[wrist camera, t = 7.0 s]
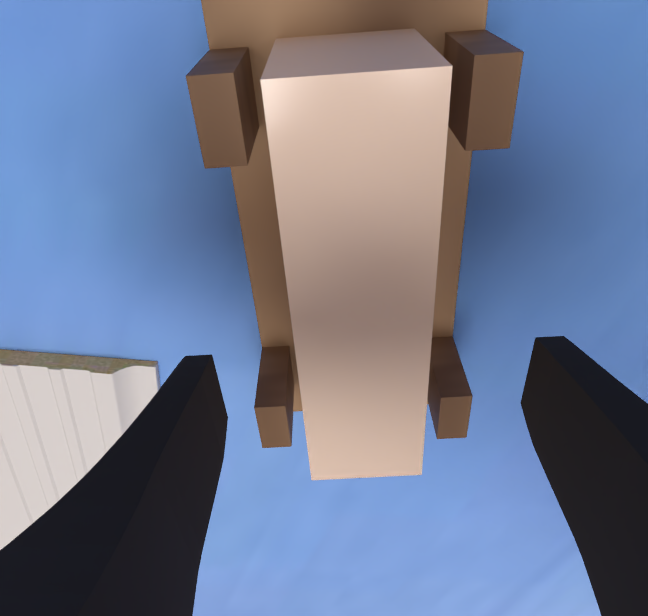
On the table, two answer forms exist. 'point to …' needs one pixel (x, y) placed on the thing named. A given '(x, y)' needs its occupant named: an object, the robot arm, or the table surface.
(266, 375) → the rack
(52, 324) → the table surface
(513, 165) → the table surface
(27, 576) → the robot arm
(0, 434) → the baseboard molding
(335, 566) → the table surface
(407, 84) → the beige rectangular block
